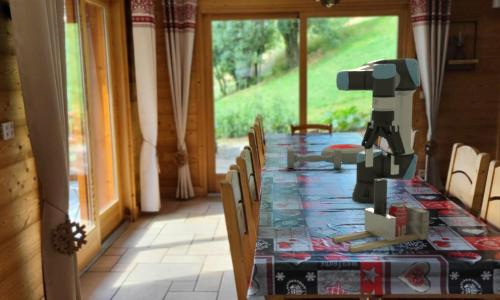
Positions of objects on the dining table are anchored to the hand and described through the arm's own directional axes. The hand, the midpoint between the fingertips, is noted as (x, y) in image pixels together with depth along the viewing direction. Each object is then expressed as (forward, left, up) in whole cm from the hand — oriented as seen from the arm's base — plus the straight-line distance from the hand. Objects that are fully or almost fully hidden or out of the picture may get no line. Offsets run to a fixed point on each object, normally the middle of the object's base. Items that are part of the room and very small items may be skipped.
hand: (381, 170), depth 161 cm
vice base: (0, 0, -25) cm, 25 cm away
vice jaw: (0, 0, -23) cm, 23 cm away
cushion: (-137, +83, -26) cm, 162 cm away
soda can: (0, +8, -25) cm, 27 cm away
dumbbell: (-119, +45, -26) cm, 130 cm away
